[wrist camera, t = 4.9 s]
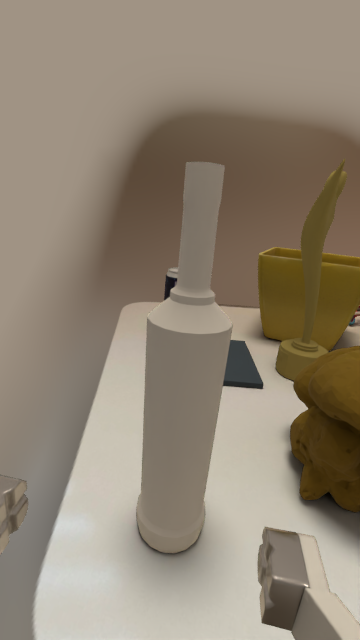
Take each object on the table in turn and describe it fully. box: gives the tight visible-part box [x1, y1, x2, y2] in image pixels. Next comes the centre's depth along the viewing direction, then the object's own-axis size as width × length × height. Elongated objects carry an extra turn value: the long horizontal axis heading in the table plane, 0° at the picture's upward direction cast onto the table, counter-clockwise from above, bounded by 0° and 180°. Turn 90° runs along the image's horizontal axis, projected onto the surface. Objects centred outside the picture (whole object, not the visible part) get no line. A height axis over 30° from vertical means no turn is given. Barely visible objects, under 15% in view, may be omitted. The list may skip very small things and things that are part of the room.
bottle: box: [136, 162, 233, 553], centre depth 21 cm, size 5×5×25 cm
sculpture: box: [276, 159, 347, 381], centre depth 47 cm, size 11×7×30 cm, turn 155°
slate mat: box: [223, 340, 263, 388], centre depth 53 cm, size 16×16×1 cm
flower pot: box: [258, 247, 360, 351], centre depth 66 cm, size 19×19×17 cm
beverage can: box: [164, 268, 178, 301], centre depth 65 cm, size 6×6×12 cm
